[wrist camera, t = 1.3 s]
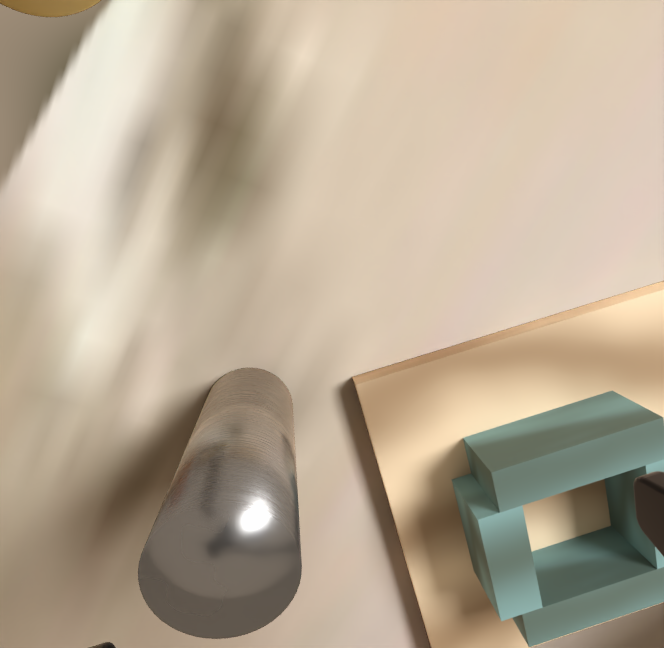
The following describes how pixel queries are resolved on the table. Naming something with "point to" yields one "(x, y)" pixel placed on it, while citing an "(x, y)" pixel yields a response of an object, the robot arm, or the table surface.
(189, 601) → the steel pin
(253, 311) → the table surface
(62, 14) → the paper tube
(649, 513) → the robot arm
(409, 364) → the socket board
